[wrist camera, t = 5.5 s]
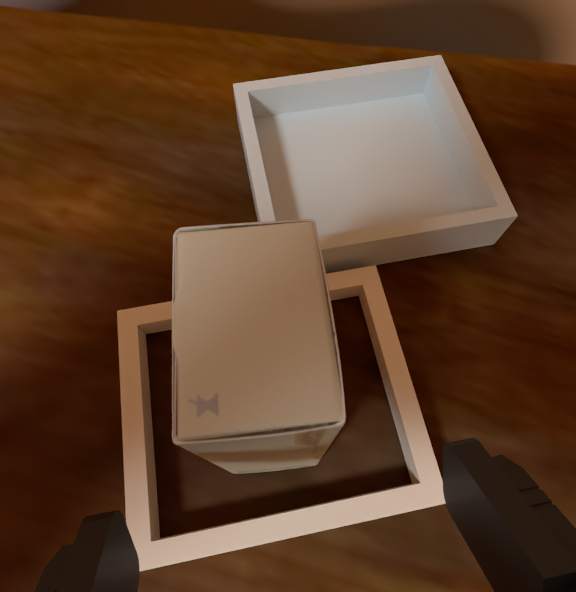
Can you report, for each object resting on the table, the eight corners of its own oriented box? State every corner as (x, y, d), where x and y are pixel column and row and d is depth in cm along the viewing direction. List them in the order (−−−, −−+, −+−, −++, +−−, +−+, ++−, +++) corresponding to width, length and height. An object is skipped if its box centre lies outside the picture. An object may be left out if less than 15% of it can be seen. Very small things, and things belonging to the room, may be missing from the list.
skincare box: (320, 466, 21) (355, 441, 10) (230, 475, 21) (167, 461, 10) (304, 340, 24) (320, 210, 13) (224, 348, 24) (169, 223, 13)
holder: (438, 501, 21) (449, 502, 19) (139, 567, 20) (128, 573, 18) (370, 277, 26) (375, 265, 24) (126, 320, 24) (116, 310, 23)
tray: (493, 244, 26) (517, 215, 24) (270, 283, 25) (267, 258, 23) (427, 92, 31) (440, 54, 29) (237, 120, 30) (232, 83, 28)
